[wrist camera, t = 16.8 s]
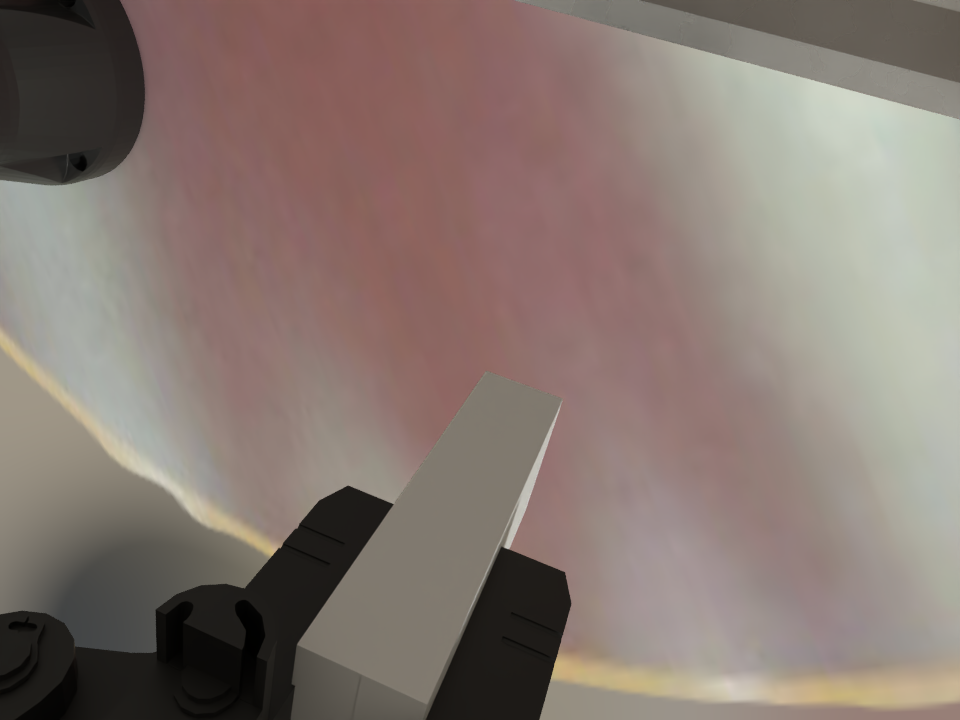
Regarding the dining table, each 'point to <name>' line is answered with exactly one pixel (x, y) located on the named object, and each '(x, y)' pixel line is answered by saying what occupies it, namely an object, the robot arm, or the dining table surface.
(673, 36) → the tray
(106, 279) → the dining table surface
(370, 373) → the dining table surface
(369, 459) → the dining table surface
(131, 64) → the robot arm
